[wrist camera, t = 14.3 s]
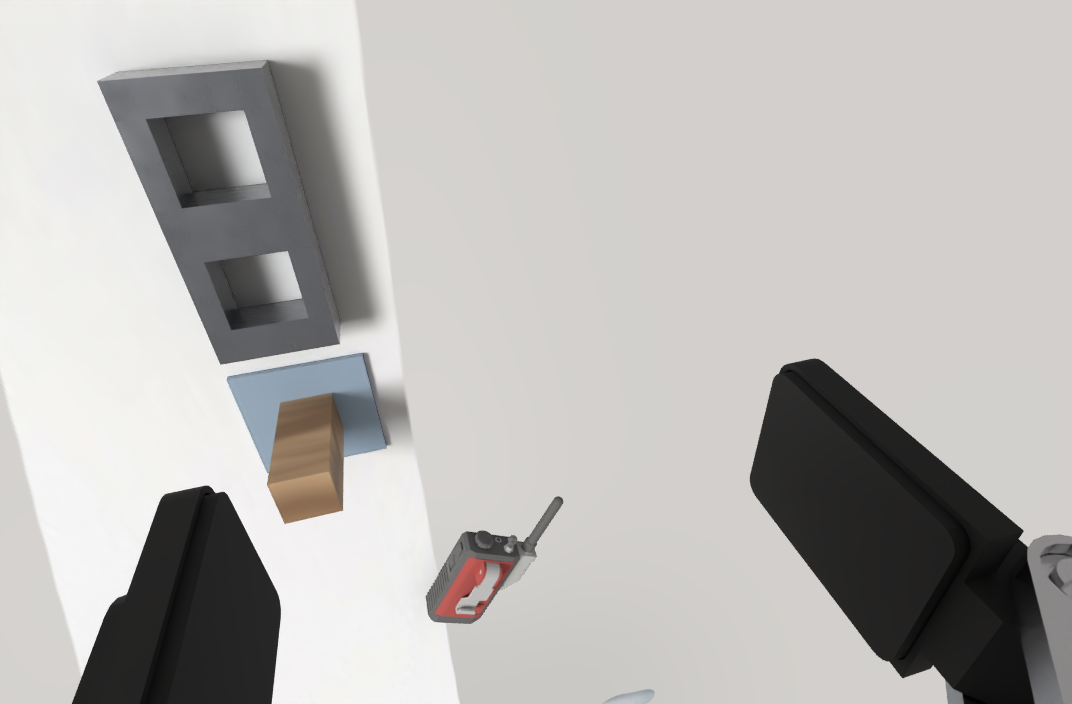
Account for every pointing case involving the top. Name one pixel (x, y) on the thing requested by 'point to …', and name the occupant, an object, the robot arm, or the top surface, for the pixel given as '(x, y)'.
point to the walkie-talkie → (482, 571)
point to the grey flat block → (227, 205)
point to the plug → (307, 459)
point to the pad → (335, 376)
